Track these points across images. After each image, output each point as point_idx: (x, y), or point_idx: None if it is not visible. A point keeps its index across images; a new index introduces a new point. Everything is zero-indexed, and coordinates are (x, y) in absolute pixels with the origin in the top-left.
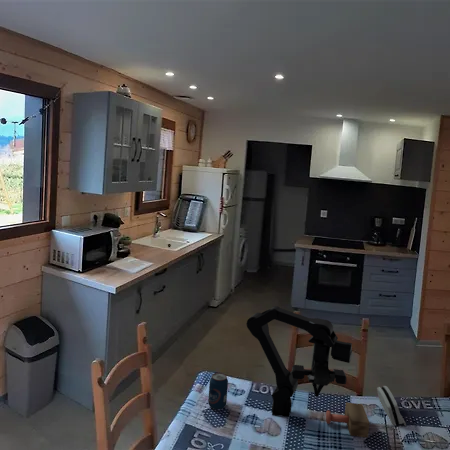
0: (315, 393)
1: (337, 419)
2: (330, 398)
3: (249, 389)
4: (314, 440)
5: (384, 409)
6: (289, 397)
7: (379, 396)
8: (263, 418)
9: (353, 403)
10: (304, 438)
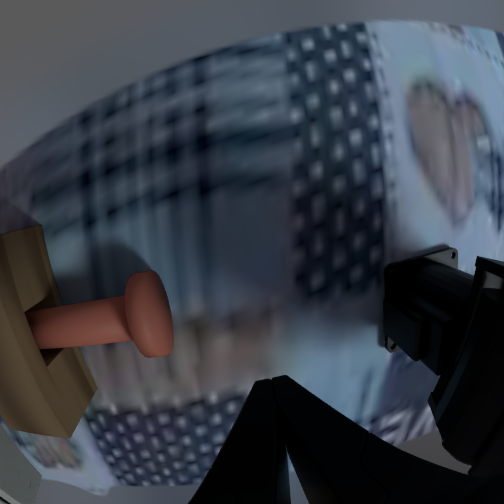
0: (302, 396)
1: (92, 302)
2: (189, 480)
3: None
4: (225, 86)
5: (8, 439)
6: (483, 289)
7: (27, 483)
8: (476, 207)
9: (37, 432)
10: (284, 86)
